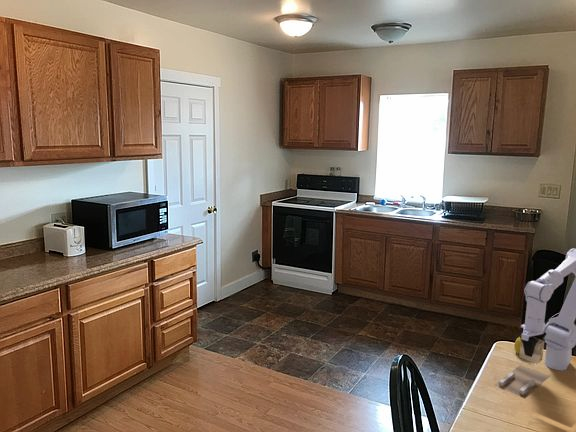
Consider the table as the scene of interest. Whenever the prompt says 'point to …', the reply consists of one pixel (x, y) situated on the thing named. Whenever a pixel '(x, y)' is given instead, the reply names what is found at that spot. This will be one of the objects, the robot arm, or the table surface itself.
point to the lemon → (517, 345)
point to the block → (536, 354)
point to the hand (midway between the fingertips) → (531, 353)
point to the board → (522, 381)
